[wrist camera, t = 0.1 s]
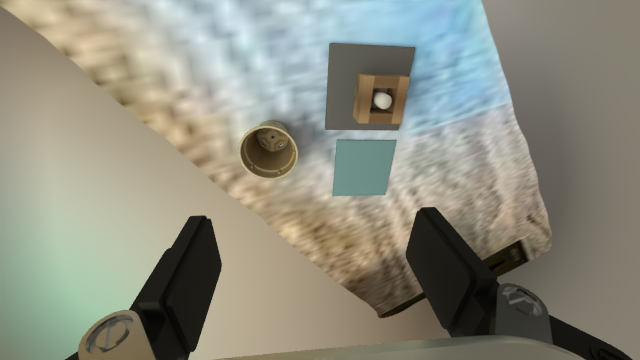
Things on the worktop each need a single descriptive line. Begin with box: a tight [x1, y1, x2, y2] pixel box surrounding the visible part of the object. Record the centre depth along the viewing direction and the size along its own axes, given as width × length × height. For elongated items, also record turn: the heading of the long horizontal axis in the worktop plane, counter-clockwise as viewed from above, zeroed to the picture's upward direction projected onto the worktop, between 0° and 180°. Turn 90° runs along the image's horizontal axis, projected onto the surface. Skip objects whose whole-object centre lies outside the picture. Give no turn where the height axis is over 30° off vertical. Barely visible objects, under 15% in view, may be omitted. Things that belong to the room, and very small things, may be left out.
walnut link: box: [353, 73, 410, 124], centre depth 37 cm, size 7×7×4 cm
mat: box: [333, 140, 396, 196], centre depth 51 cm, size 13×12×1 cm
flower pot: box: [238, 121, 298, 180], centre depth 43 cm, size 9×9×9 cm
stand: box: [325, 43, 415, 130], centre depth 39 cm, size 14×14×11 cm
